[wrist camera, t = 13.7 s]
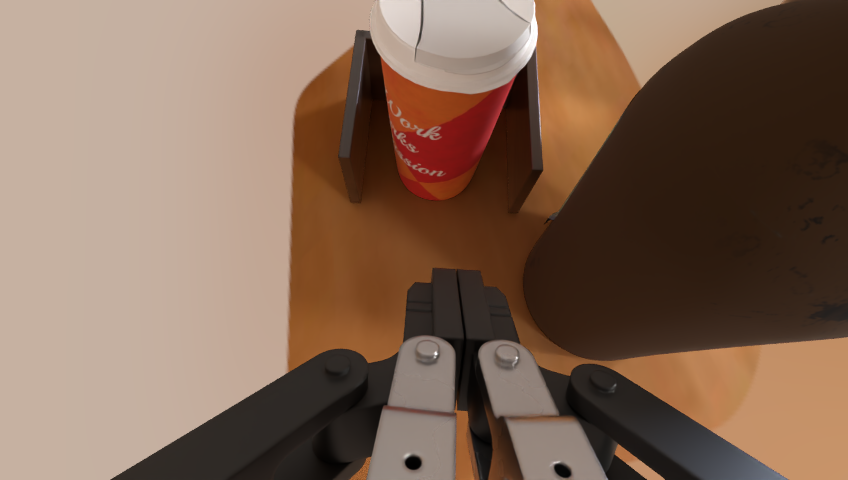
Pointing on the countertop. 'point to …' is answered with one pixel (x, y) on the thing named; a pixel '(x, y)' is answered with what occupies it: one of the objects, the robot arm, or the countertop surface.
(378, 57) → the holder
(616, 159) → the brown bottle
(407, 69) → the paper cup
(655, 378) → the countertop surface
